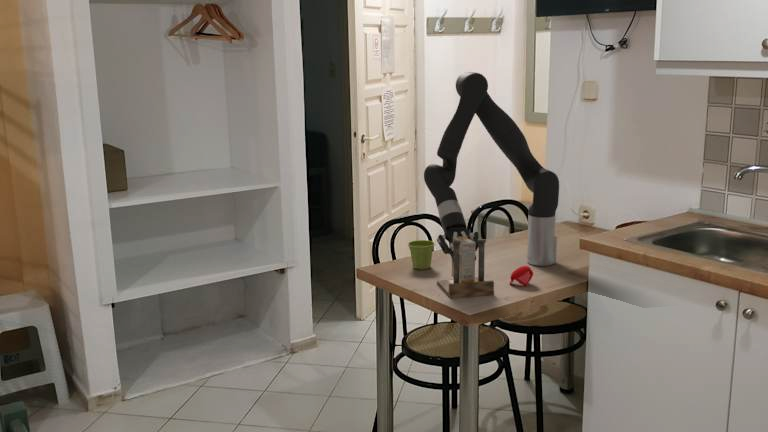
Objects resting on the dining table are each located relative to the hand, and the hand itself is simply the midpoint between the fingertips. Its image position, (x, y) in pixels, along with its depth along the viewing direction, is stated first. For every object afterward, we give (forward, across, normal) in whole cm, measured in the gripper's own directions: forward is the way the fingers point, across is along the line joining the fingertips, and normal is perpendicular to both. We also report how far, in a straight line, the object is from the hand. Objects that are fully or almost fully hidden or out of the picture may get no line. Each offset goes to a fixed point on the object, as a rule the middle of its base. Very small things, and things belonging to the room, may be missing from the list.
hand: (465, 262), depth 236 cm
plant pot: (-13, -5, +26) cm, 30 cm away
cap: (+7, +19, +6) cm, 21 cm away
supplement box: (+3, 0, +6) cm, 6 cm away
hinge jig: (+6, 0, +6) cm, 9 cm away
